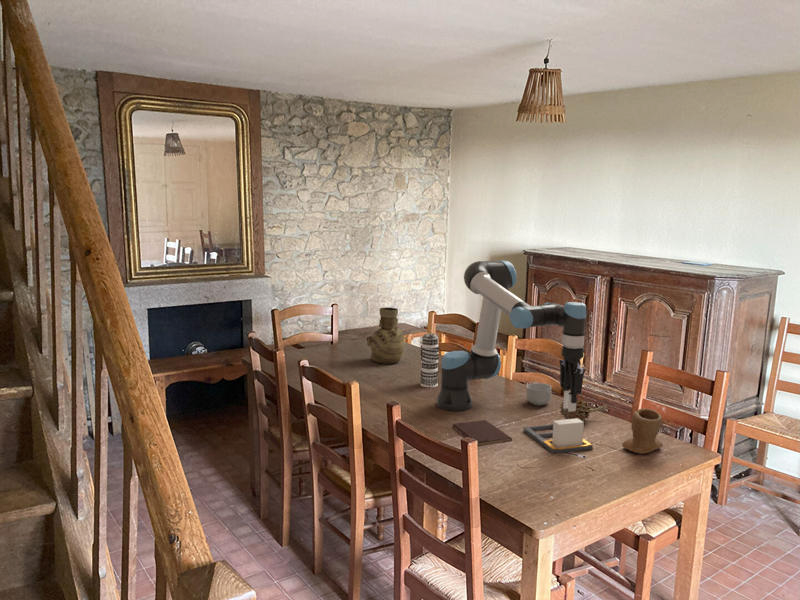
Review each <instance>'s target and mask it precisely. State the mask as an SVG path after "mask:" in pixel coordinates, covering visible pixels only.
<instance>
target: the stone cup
mask: <svg viewBox="0 0 800 600" xmlns="http://www.w3.org/2000/svg"><path fill="white" fill-rule="evenodd" d="M662 424H663V418H662V415H661V414H660V413H659V412H658V411H657V410H655V409H651V408H640V409H637V410H636V411H635V412H634V414H633V415H632V419H631V431H632V438H630V439H627V440H625V441H623V442H622V444H621V445H622V447H623V448H624V449H626V450H628V451H629V452H632V453H635V454H639V455H643V454H647V453H650V452H653V451H655V450H658V449H660V448H662V447H663V446H664V444H663V443H662V442H661V441H660V440H659V439H658V438H657V436H658V433H659V432H660V431H661V428H662Z"/></svg>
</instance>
